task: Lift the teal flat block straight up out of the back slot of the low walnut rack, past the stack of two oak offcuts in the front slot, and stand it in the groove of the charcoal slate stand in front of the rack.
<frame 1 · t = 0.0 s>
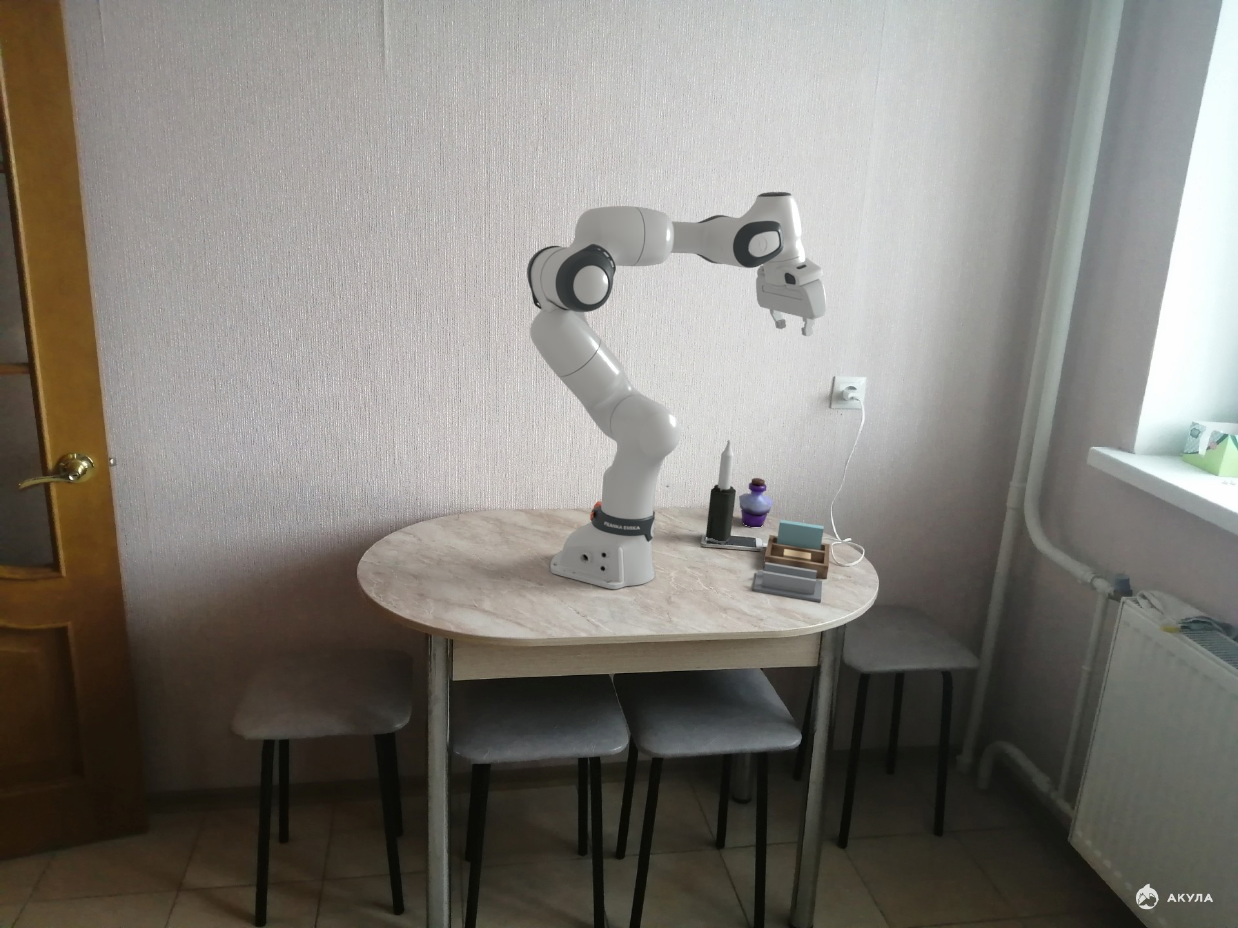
hand: (794, 331, 192), 52 cm above the table, tool tilted 20°, fingers open, 8 cm apart
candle: (717, 540, 213), on the table
rack: (796, 558, 205), on the table
slate stand: (788, 586, 190), on the table
teal flat block: (797, 556, 207), on the table
potion bottle: (752, 524, 226), on the table
lower offcut: (795, 568, 201), on the table, touching upper offcut
upper offcut: (796, 561, 200), point 1 cm above the table, touching lower offcut
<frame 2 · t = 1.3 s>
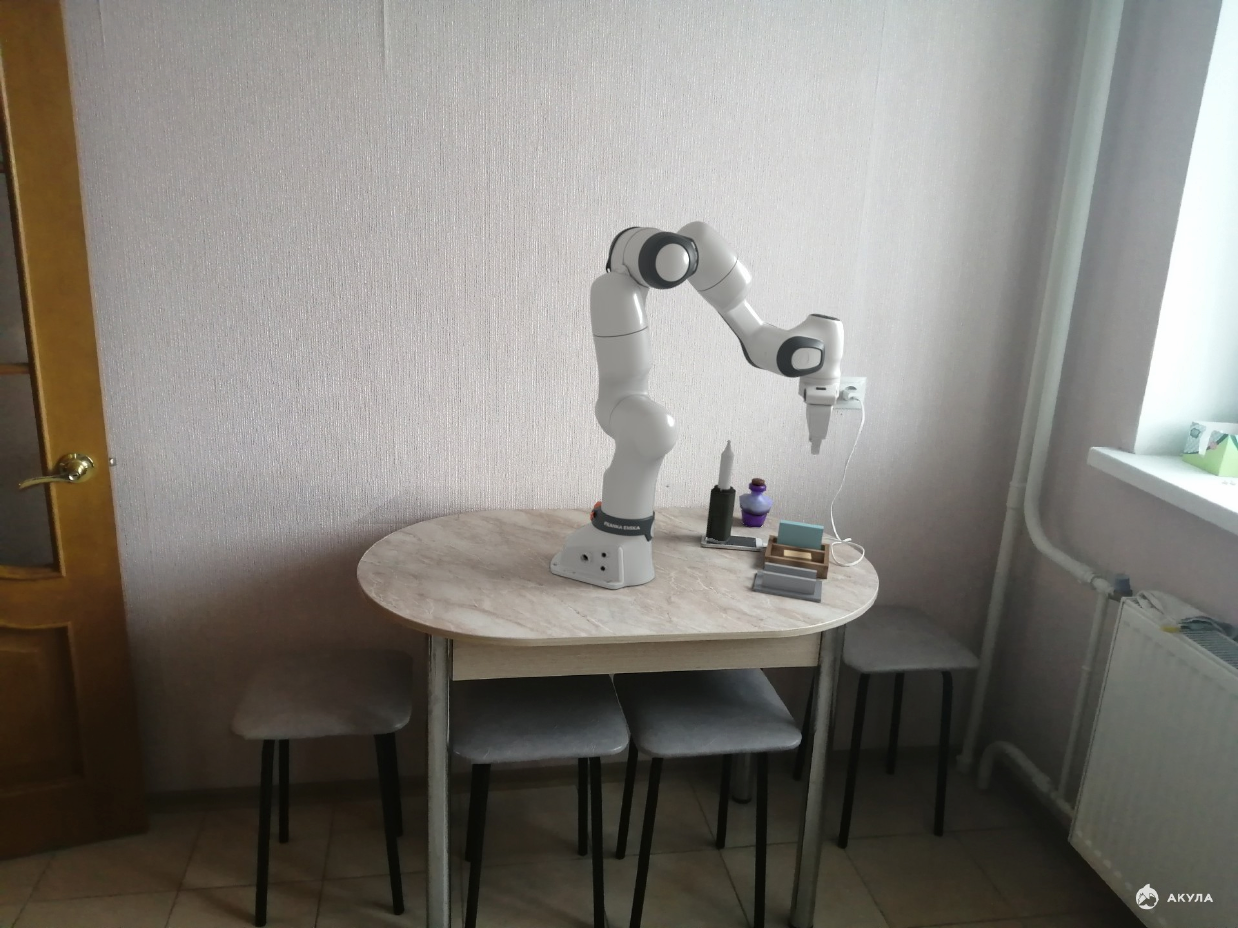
hand: (813, 447, 200), 26 cm above the table, tool pointing down, fingers open, 8 cm apart
nothing on the table moved.
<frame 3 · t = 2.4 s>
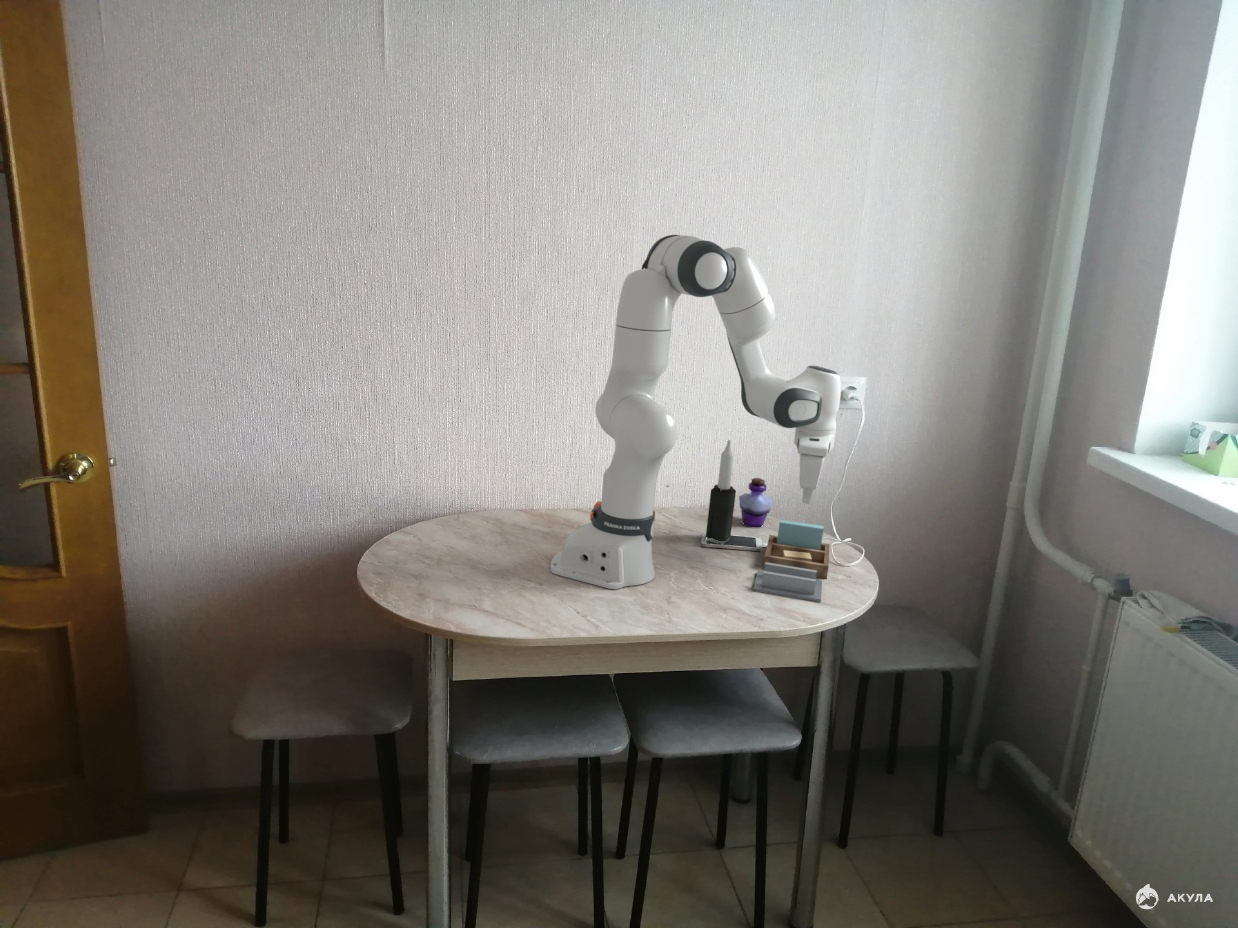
hand: (807, 496, 203), 15 cm above the table, tool pointing down, fingers open, 8 cm apart
nothing on the table moved.
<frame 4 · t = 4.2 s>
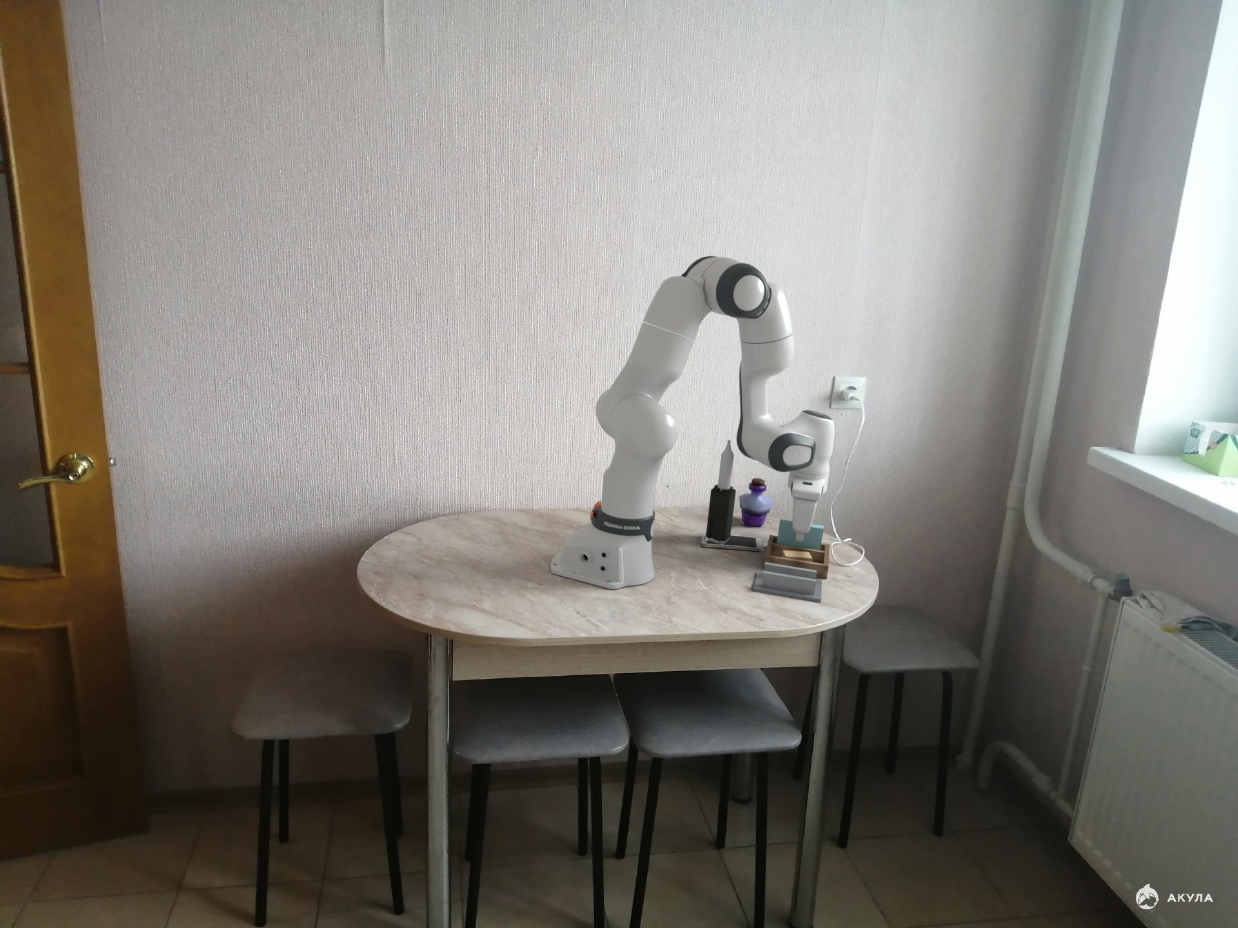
hand: (799, 537, 206), 5 cm above the table, tool pointing down, fingers closed on teal flat block, 2 cm apart
teal flat block: (797, 555, 207), on the table, touching gripper
everything else where it was.
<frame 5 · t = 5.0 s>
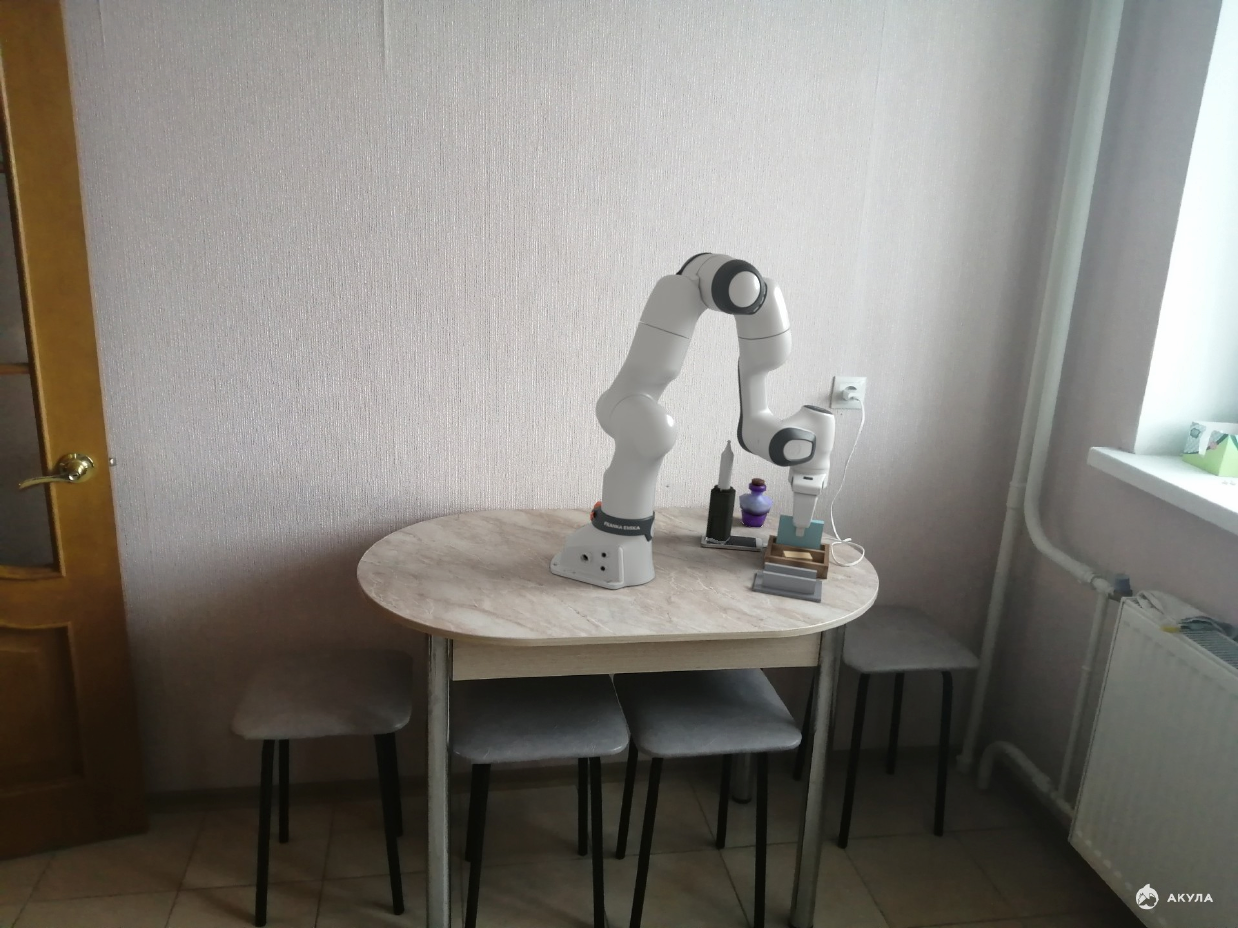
hand: (799, 532, 205), 6 cm above the table, tool pointing down, fingers closed on teal flat block, 2 cm apart
teal flat block: (797, 551, 207), point 1 cm above the table, touching gripper
everything else where it was.
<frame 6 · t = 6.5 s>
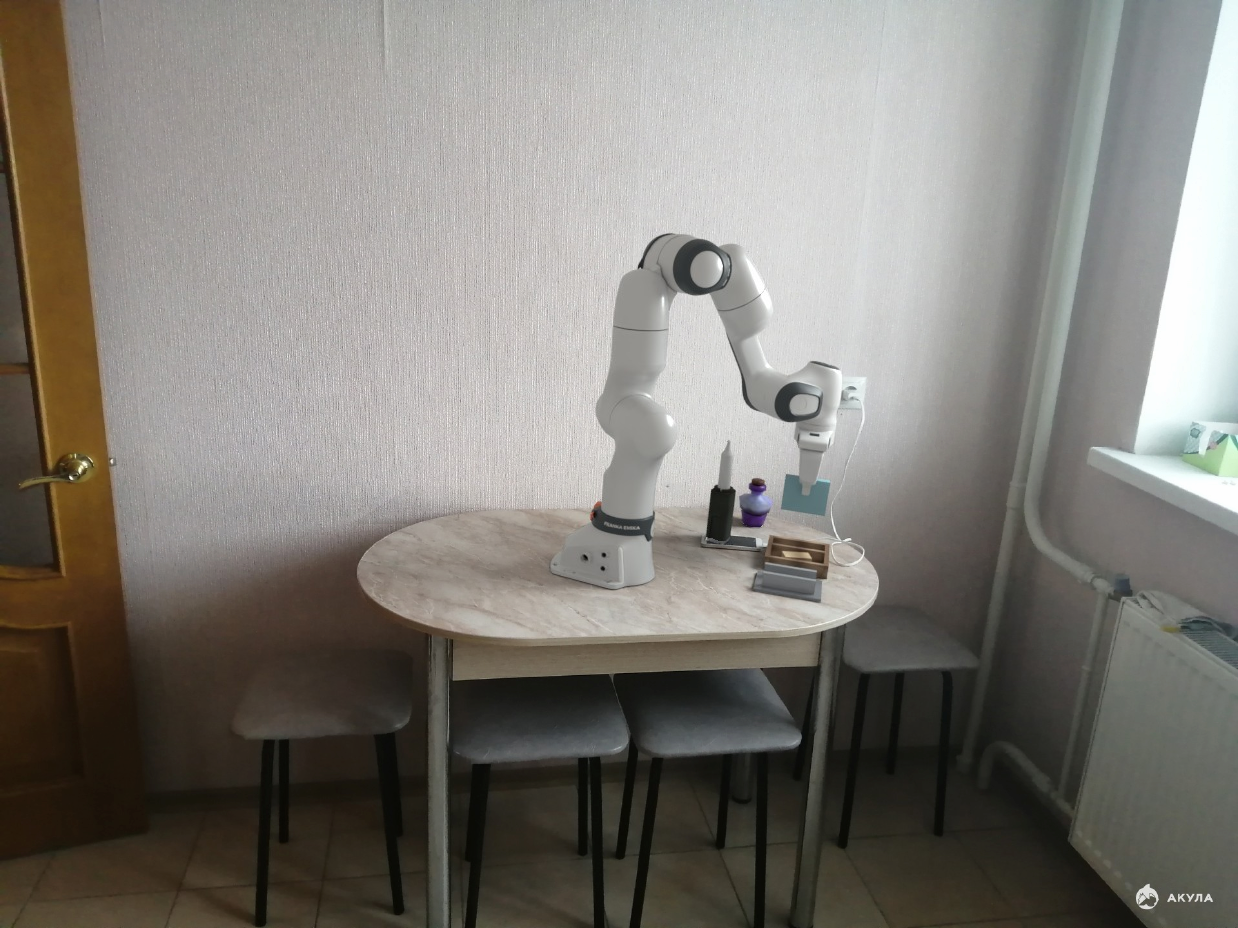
hand: (805, 492, 203), 16 cm above the table, tool pointing down, fingers closed on teal flat block
teal flat block: (802, 511, 204), point 11 cm above the table, touching gripper
lower offcut: (794, 569, 201), on the table
upper offcut: (795, 562, 200), point 1 cm above the table
everything else where it was.
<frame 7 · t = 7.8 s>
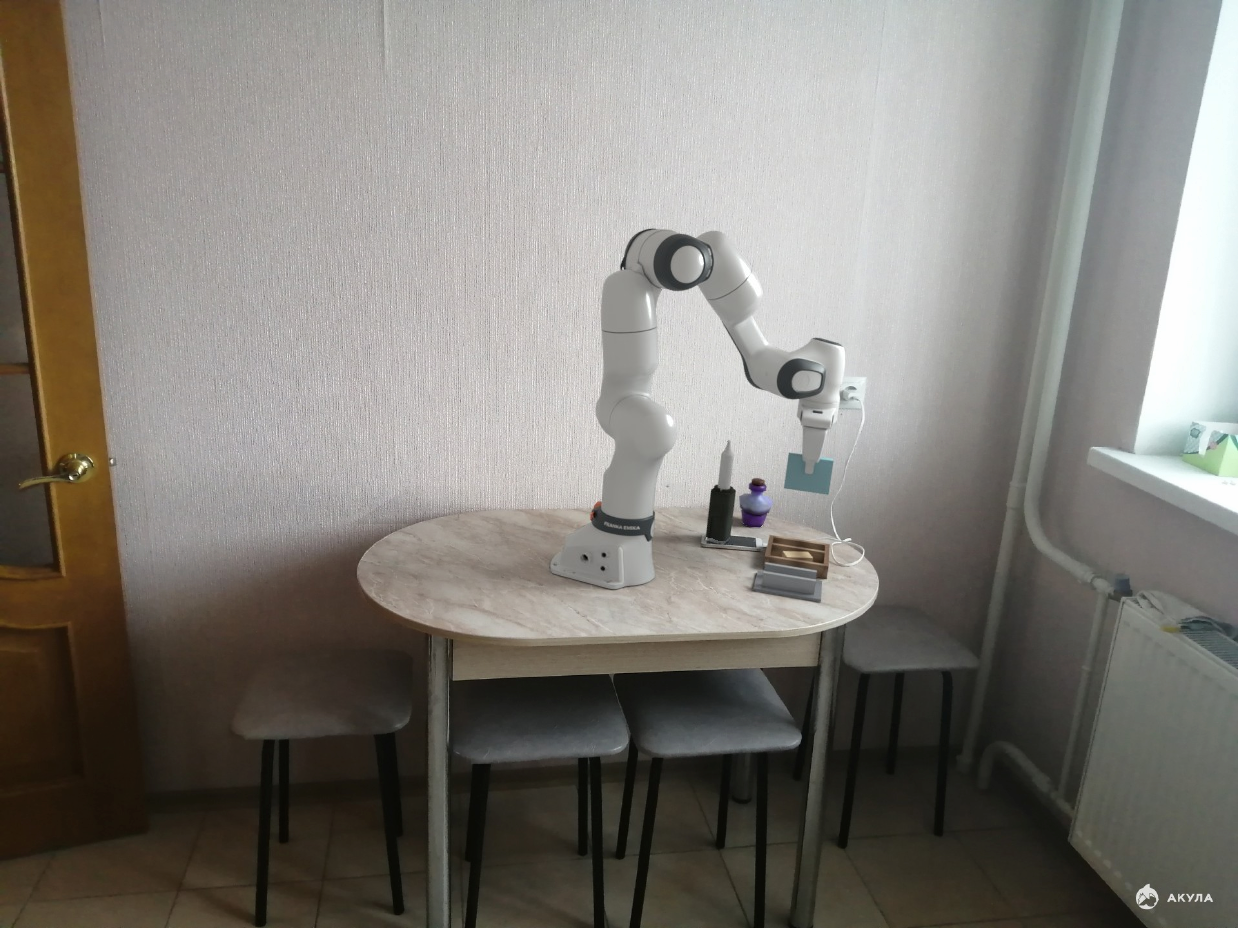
hand: (808, 470, 201), 21 cm above the table, tool pointing down, fingers closed on teal flat block
teal flat block: (806, 490, 202), point 16 cm above the table, touching gripper
lower offcut: (795, 569, 201), on the table, touching upper offcut
upper offcut: (796, 561, 200), point 1 cm above the table, touching lower offcut
everything else where it was.
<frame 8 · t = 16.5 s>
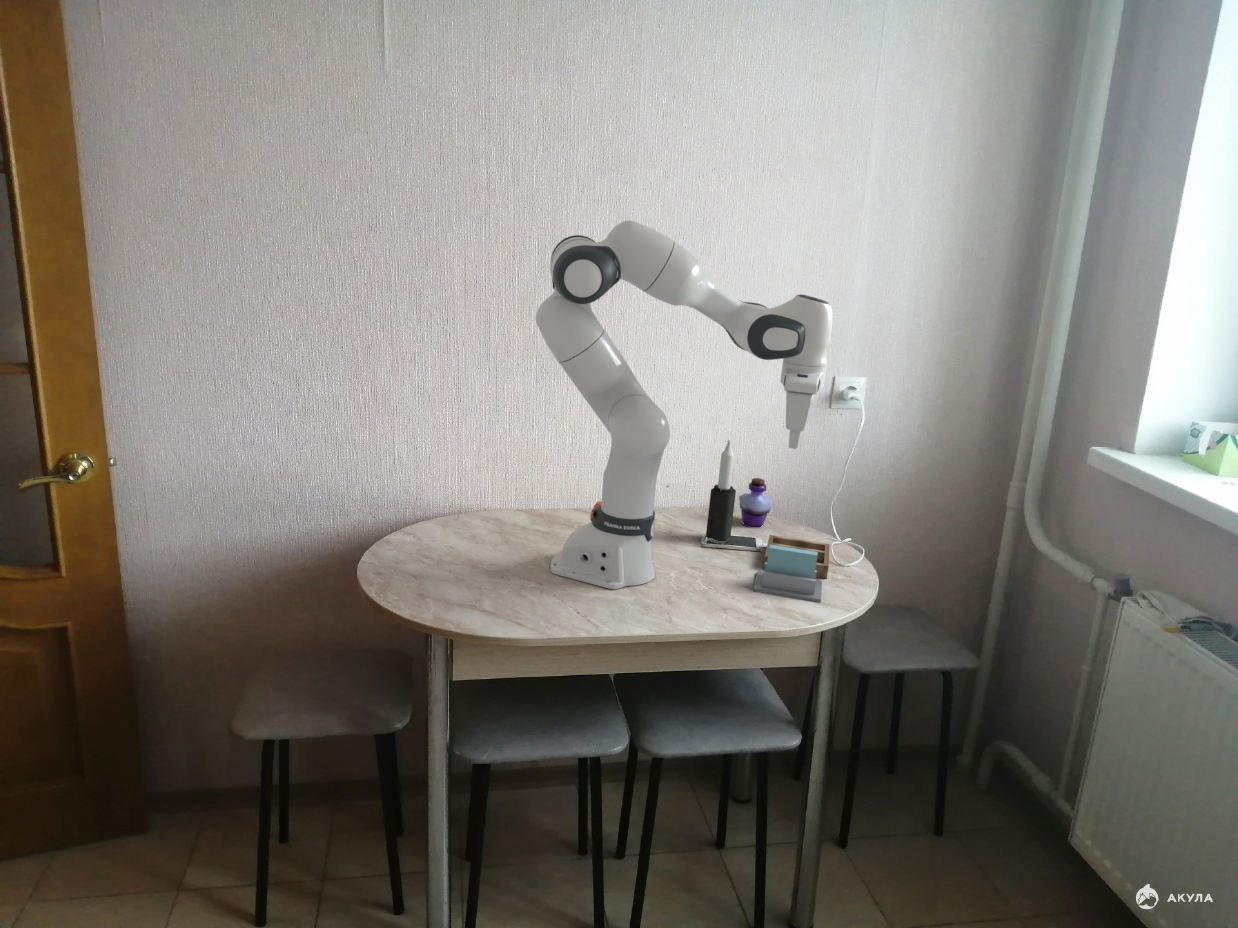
hand: (794, 442, 184), 31 cm above the table, tool pointing down, fingers open, 8 cm apart
teal flat block: (788, 584, 189), point 1 cm above the table, touching slate stand
lower offcut: (794, 571, 200), on the table, touching upper offcut
upper offcut: (796, 562, 200), point 1 cm above the table, touching lower offcut, rack
everything else where it was.
at the end: teal flat block 0.0 cm off-centre on the slate stand, point 0.6 cm above the slate stand's base; teal flat block tilted 0°; upper offcut moved 0.8 cm from its start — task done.
